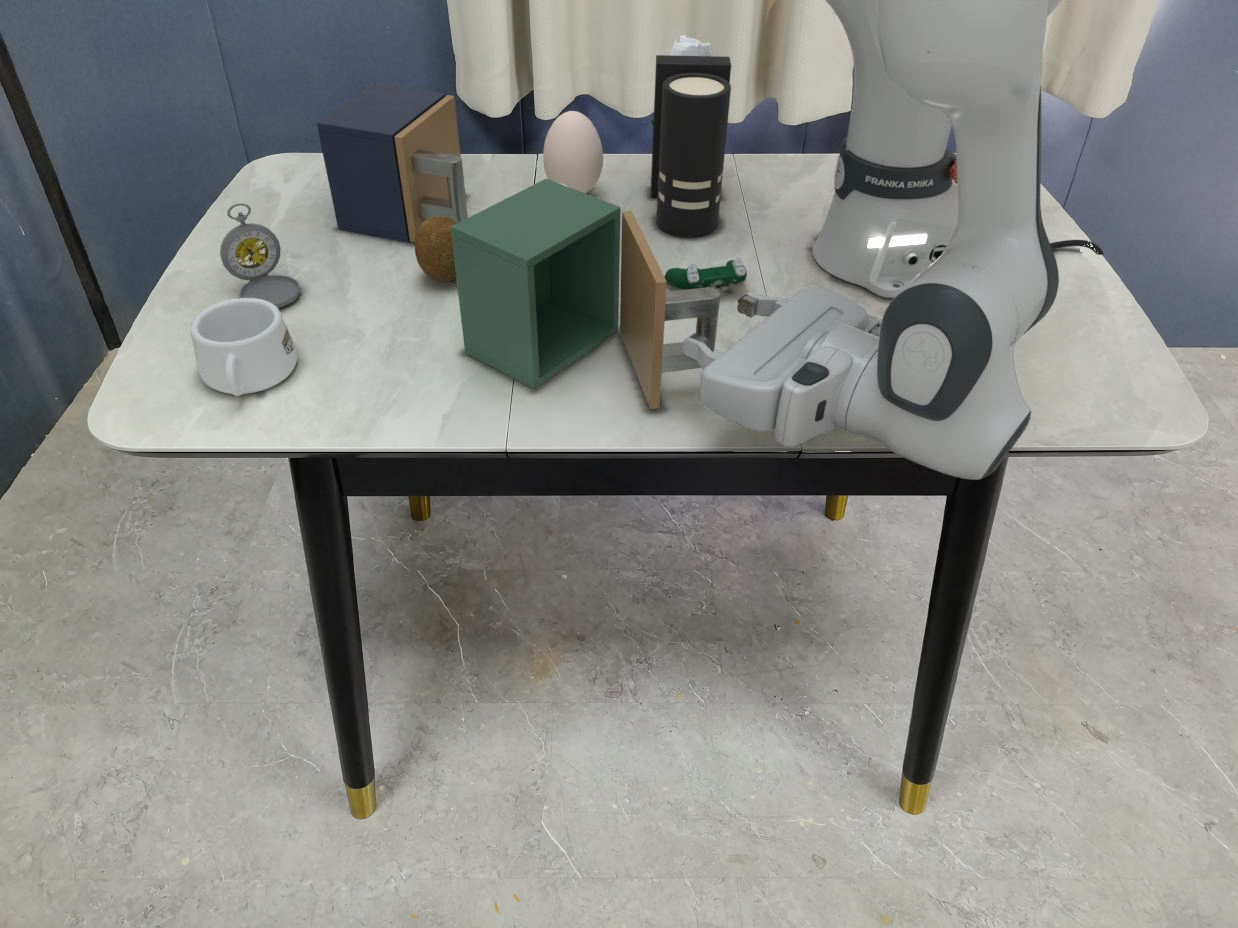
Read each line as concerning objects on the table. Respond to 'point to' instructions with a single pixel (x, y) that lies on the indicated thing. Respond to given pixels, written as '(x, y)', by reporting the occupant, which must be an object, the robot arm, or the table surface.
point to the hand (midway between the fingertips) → (715, 321)
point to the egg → (573, 152)
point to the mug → (242, 346)
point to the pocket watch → (257, 262)
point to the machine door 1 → (432, 167)
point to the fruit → (436, 248)
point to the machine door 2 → (657, 313)
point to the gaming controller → (707, 276)
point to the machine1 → (371, 158)
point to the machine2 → (538, 280)
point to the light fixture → (689, 141)
